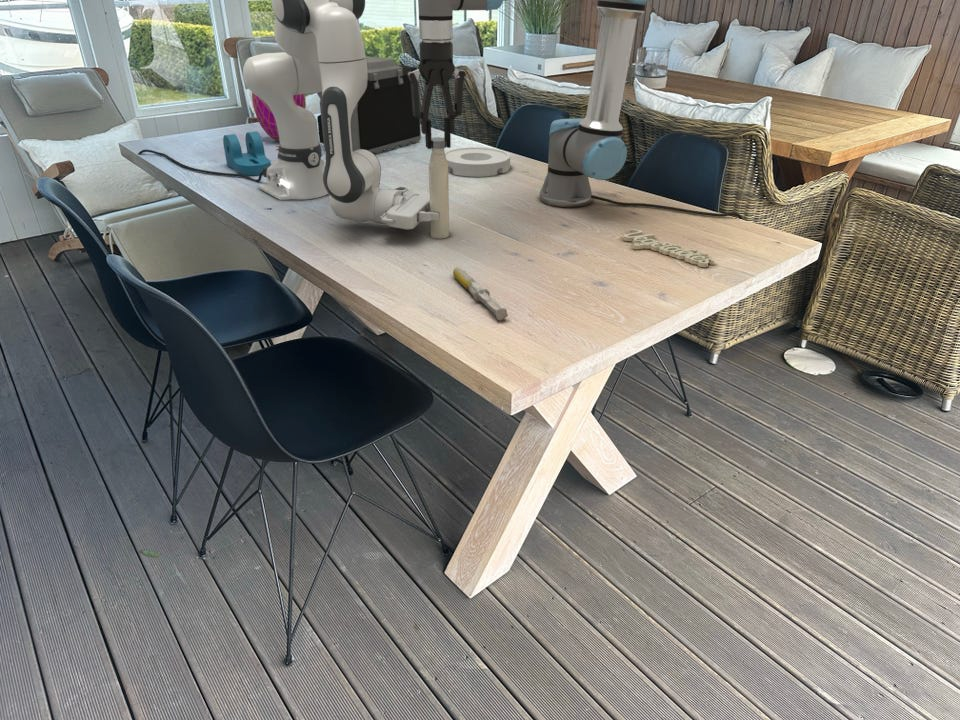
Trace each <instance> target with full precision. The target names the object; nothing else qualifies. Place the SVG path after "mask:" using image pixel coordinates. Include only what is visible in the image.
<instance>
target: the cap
mask: <svg viewBox="0 0 960 720" xmlns="http://www.w3.org/2000/svg"><path fill="white" fill-rule="evenodd" d="M431 145H432V148H434V149H442V148H444V149H445V148H447V139H446V138H444V137H442V136H441V137H440V136H438V137H437V136H436V137H431Z"/></svg>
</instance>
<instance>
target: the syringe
mask: <svg viewBox="0 0 960 720" xmlns="http://www.w3.org/2000/svg"><path fill="white" fill-rule="evenodd" d="M452 274H453V277H454V279H455V280H457V281H458V282H459V283H460V285H462V287H464V289H466V290H467V291H468V293H470V295H471V296H472V298H473V300H474V302H477V303H478V302H480V303H482V304H483V305H484V306H485V307H486V308H487V309H488V310H489V311H490V312H491V313H492V314H493V315H494V316H495V317H496V320H497V321H503V320H504V319H506V318H507V317H509V314H508V310H507V308H506V307H502V306H501V305H500V303H498V302H497V301H496V300H494V299H493V298H492V297H491V296H490V295H491V293H490V290H488V289H486V288H483V287H482V286H481V285H480V284H479V283H478V282H477V281H476V280H474V278H473V277H471V275H469V274H468V273H467V272H466V270H465V269H464V268H463V267H462V266H456V267H454V268H453V271H452Z"/></svg>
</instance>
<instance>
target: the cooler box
mask: <svg viewBox="0 0 960 720" xmlns="http://www.w3.org/2000/svg"><path fill="white" fill-rule="evenodd" d="M366 62H367V71H368V78H367V88H366V90H365V92H364V94H363V95H362V97H361V98H360V99H359V101H358V103H357V104H356V106H355V108H354V110H353V113H352V116H351V124H350V126H351V139H352V151H355V150H358V149H365V150H368V151H370V152H372V153H373V154H374V155H377V154H381V153H382V152H383V151H391V150H395V149H396V148H397V147H405V146H407V145H408V144H416V143H418V142H419V141H421V137H422V132H421V119H419V118H416V117H415V116H414V115H413V110H412V96H411V82H410V80H409V78H408V75H407V73H408V72H413V71H415V70H417V69H418V66H408V65H400V64H396V62H395V60H394V59H393V58H385V57H377V56H367V55H366ZM418 88H419V86H418ZM316 94H317V96H318V98H319V110H320V111H319V112H320V114H319V115H317V116H316V120H317V129H318V139H319V143H320V144H323V146H324V148H325V140H324V129H323V118H322V92H319V93H316ZM419 103H420V104H421V97H420V94H419Z"/></svg>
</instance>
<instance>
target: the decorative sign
mask: <svg viewBox="0 0 960 720" xmlns="http://www.w3.org/2000/svg"><path fill="white" fill-rule="evenodd" d="M622 240H623V241H624V242H625V241H626V242H632V249H633V250H643V249H646V250H647V249H648V250H649V249H650V250H651V251H655V252H658V253H660V254H663V255H665V256H667V255H668V256H669V257H672V258H675V259H676V260H677V259H678V260H684V262H686V263H690V264H692V265H697V266H698V267H700V268H708V267H709V264H710V265H711V266H713V265H714V264H715V259H713V258H710V257H708V255H709V253H708V252H705V251H704V252H698V249H697V248H690V249H689V248H688V249H683V248H682V245H679V244H678V243H672V242H669V241H667V242H660V241H659V240H656V239H655V234H654V233H647V234H646V233H645V234H643V230H640V229H636V228H629V230H628V233H625V234H623V237H622Z"/></svg>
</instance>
